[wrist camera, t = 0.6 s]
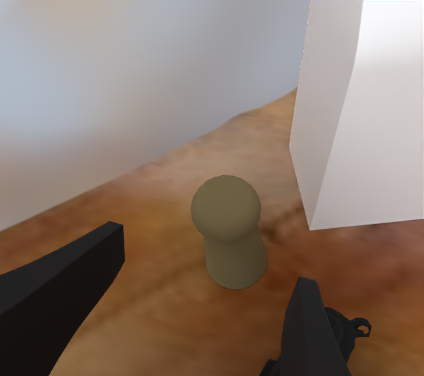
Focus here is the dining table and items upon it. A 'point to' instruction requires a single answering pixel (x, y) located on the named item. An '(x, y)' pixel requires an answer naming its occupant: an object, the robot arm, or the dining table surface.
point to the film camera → (343, 335)
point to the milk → (361, 113)
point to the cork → (230, 231)
